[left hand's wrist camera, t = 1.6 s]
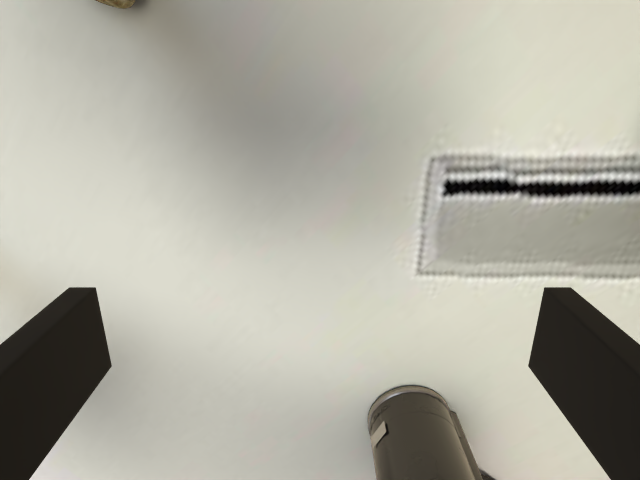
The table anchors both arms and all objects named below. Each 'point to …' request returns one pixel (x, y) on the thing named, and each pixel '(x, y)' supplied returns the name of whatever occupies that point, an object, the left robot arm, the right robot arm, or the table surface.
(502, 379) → the table surface
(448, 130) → the table surface
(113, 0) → the sculpture
